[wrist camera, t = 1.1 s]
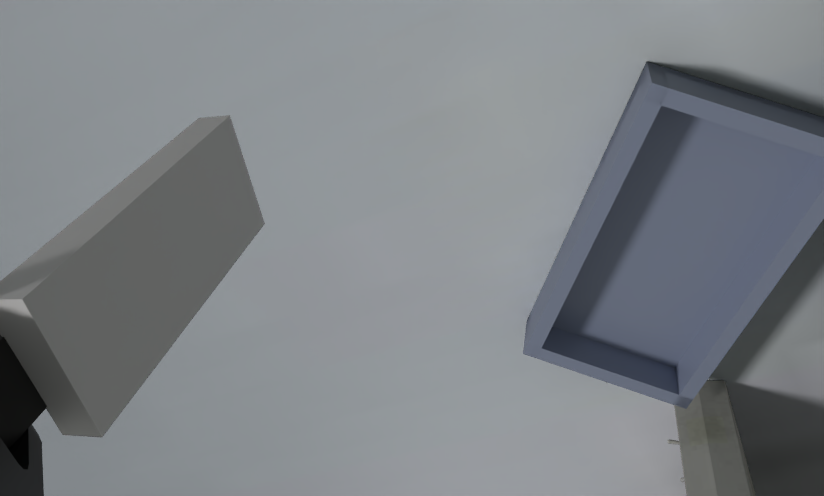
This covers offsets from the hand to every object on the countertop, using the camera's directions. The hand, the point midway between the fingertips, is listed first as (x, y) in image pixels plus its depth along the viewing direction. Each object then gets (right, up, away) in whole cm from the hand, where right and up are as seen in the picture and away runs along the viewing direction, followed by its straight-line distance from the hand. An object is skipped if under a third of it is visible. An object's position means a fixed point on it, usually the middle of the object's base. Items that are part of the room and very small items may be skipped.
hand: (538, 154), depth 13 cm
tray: (+11, -1, +22) cm, 25 cm away
